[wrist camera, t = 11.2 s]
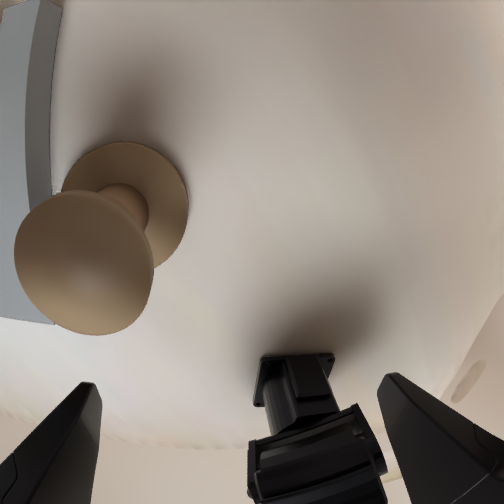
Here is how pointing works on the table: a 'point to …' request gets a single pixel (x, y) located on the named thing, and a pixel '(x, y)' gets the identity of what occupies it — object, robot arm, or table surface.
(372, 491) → the robot arm
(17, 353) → the table surface
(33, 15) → the notched board
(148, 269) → the bobbin post
